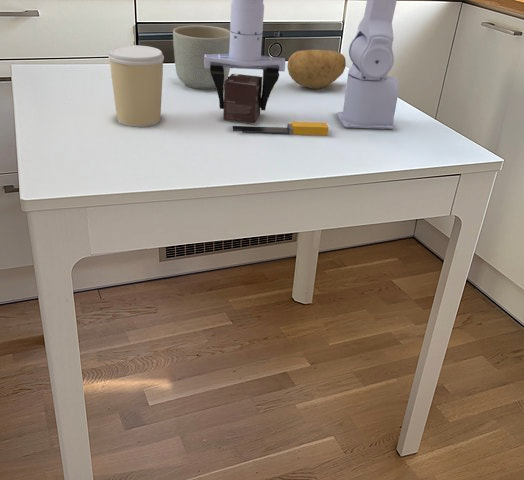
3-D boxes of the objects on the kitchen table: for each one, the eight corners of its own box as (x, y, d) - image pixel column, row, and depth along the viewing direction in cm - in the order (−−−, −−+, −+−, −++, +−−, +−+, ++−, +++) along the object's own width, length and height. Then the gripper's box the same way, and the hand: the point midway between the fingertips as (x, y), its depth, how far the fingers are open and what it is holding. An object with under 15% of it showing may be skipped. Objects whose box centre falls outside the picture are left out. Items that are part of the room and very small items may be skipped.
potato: (353, 90, 142) (359, 53, 138) (299, 95, 136) (303, 57, 132) (329, 78, 149) (333, 43, 145) (276, 83, 143) (279, 45, 139)
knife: (325, 130, 118) (326, 122, 117) (327, 135, 116) (328, 127, 115) (232, 127, 116) (232, 119, 115) (233, 132, 114) (233, 124, 113)
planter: (204, 74, 145) (205, 23, 139) (243, 87, 138) (245, 34, 132) (161, 82, 137) (160, 28, 132) (199, 96, 131) (200, 41, 125)
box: (254, 125, 118) (256, 84, 114) (222, 120, 119) (223, 80, 115) (260, 115, 123) (263, 76, 119) (230, 111, 124) (231, 72, 120)
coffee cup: (174, 117, 119) (174, 50, 112) (146, 132, 111) (144, 60, 105) (132, 108, 122) (129, 42, 115) (101, 121, 114) (96, 51, 108)
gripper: (284, 29, 117) (278, 103, 124) (204, 24, 115) (202, 100, 123) (289, 37, 111) (282, 114, 119) (205, 33, 109) (203, 111, 117)
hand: (242, 108), depth 120 cm, fingers open, 7 cm apart
